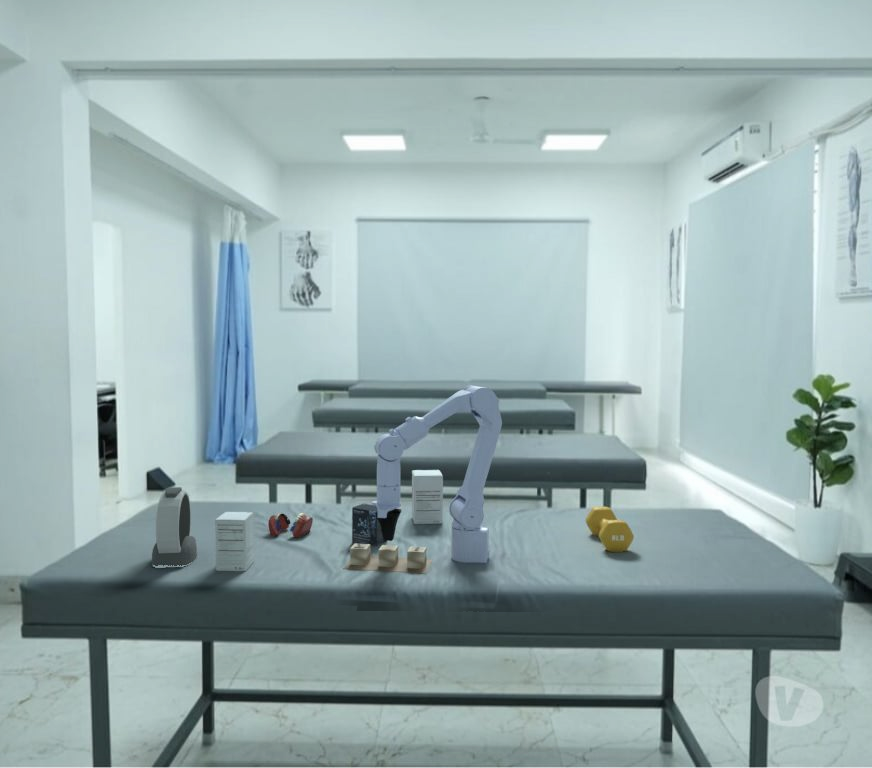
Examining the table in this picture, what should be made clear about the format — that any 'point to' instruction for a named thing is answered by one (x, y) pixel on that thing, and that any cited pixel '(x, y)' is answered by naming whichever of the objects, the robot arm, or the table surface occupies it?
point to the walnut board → (399, 567)
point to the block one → (416, 557)
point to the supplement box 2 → (427, 497)
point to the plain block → (388, 555)
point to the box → (366, 525)
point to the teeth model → (282, 523)
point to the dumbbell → (609, 529)
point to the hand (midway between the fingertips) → (388, 540)
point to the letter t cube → (360, 554)
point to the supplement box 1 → (234, 541)
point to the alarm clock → (174, 530)
